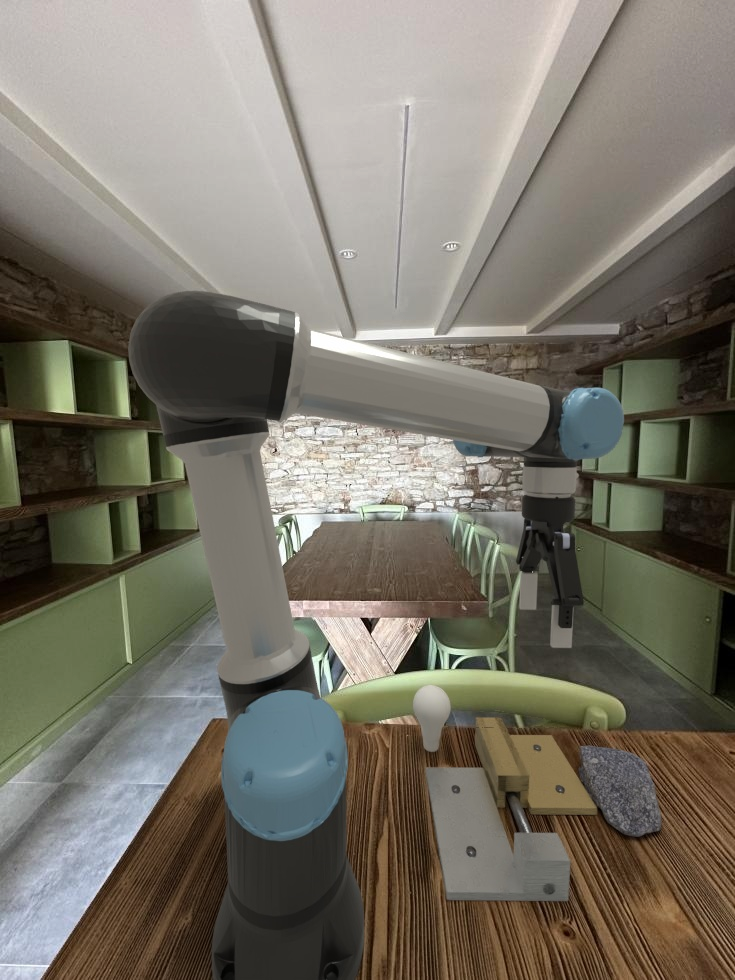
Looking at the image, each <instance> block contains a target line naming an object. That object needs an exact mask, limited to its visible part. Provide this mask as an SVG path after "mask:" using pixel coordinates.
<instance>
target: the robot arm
mask: <svg viewBox="0 0 735 980" xmlns="http://www.w3.org/2000/svg"><path fill="white" fill-rule="evenodd" d="M127 349H128V361H129V365H130V368H131V371H132V375H133V377H134V379H135V381H136V383H137V386H139V388H140V390H141V391H142V392H143V394H145V395H146V397H147V398H148V399H149V400H150V401H152V402H153V403H154V404H155V406H156V411H157V414H158V419H159V422H160V427H161V428H160V429H161V431H162V435H163V439H164V442H165V448H166V451H168V452H169V453H171V454H172V455H174V457H177V458H178V459H180V460H181V461H182V462H183V463H184V467H185V470H186V475H187V480H188V483H189V489H190V493H191V497H192V502H193V507H194V511H195V516H196V520H197V524H198V530H199V533H200V538H201V542H202V547H203V551H204V552H203V553H204V556H205V560H206V564H207V565H206V566H207V569H208V573H209V577H210V583H211V588H212V591H213V592H212V593H213V596H214V601H215V604H216V610H217V615H218V618H219V623H220V628H221V632H222V635H223V640H224V645H225V649H226V650H225V651H224V653H223V654H222V656H221V657H220V659H219V661H217V666H216V670H217V676H218V680H219V684H220V689H221V693H222V699H223V702H224V707H225V710H226V718H227V735H226V738H225V742H224V748H223V754H222V759H221V764H220V765H221V767H220V769H221V770H220V775H221V777H220V778H221V781H220V782H221V788H222V791H223V795H224V811H225V812H224V813H225V814H224V815H225V837H226V859H227V861H226V862H227V885H226V888H225V891H224V894H223V897H222V900H221V904H220V906H219V910H218V913H217V917H216V920H215V925H214V928H213V933H212V934H213V935H212V940H211V941H212V943H211V970H212V971H211V972H212V973H211V974H212V980H356V978H357V975H358V973H359V969H360V966H361V962H362V958H363V952H364V947H365V946H364V945H365V911H364V902H363V898H362V894H361V889H360V886H359V884H358V882H357V881H358V880H357V879H356V876H355V874H354V871H353V868H352V865H351V863H350V861H349V859H348V856H347V846H348V845H347V842H348V841H347V772H348V767H349V760H348V755H349V753H348V748H347V747H348V745H347V742H346V741H347V740H346V738H345V737H346V735H345V732H344V731H345V730H344V726H343V723H342V721H341V719H340V717H339V715H338V713H337V712H336V710H335V708H334V707H333V706H332V705H331V704H330V703H329V702H328V701H327V700H326V699H323V698H322V697H321V695H320V690H319V686H318V682H317V676H316V672H315V671H316V670H315V665H314V661H313V656H312V650H311V646H310V640H309V638H308V637H307V635H306V634H305V633H303V632H301V631H299V630H297V629H295V624H294V619H293V614H292V609H291V604H290V599H289V594H288V588H287V583H286V580H285V574H284V568H283V562H282V559H281V558H282V557H281V553H280V548H279V542H278V537H277V532H276V527H275V522H274V516H273V511H272V507H271V506H272V505H271V502H270V501H271V500H270V496H269V491H268V485H267V481H266V475H265V471H264V470H265V469H264V465H263V460H262V459H263V458H262V455H261V449H262V446H263V445H264V443H266V441H267V439H268V438H269V437H270V430H269V429H270V428H269V424H268V421H275V422H279V423H282V422H284V421H285V420H286V419H288V418H290V417H291V416H293V415H295V414H299V415H305V416H310V417H311V416H312V417H316V418H322V419H328V420H335V421H339V422H340V421H341V422H347V423H352V424H358V425H364V426H369V427H374V428H381V429H386V430H392V431H398V432H404V433H410V434H417V435H422V436H427V437H434V438H438V439H439V438H440V439H446V440H450V441H451V440H452V441H453V445H454V448H455V449H456V450H457V452H458V453H459V454H461V455H462V456H465V457H476V458H483V457H492V458H493V457H494V458H495V457H501V458H503V457H504V458H523V466H522V486H521V487H522V491H523V492H525V493H526V494H524V495H523V496H522V497H521V498H522V501H521V517H522V518H523V519H524V520H523V529H522V534H521V539H520V542H519V547H518V551H517V555H516V560H515V562H516V565H517V566H518V565H519V568H518V569H519V571H520V577H519V579H520V580H519V601H518V602H519V603H518V604H519V607H518V608H519V609H520V610H521V611H522V610H524V611H525V610H527V611H528V610H529V611H530V610H531V611H533V610H534V611H536V610H537V604H538V603H537V601H538V599H537V598H538V579H539V578H538V577H539V576H538V572H540V568H539V564H540V562H541V560H543V561H544V562H546V567H547V570H548V575H549V578H550V579H549V580H550V584H551V588H552V592H553V596H554V598H553V599H552V600H551V601H550V604H551V618H550V619H551V620H550V622H551V623H550V641H549V642H550V643H549V645H550V647H551V648H553V649H559V648H560V649H572V648H573V647H572V645H573V630H574V629H573V627H574V625H573V624H574V607H583V606H584V603H585V601H584V596H583V595H584V594H583V589H582V583H581V576H580V571H579V565H578V558H577V553H576V535H575V533H573V532H571V533H569V532H568V533H565V529H564V524H567V523H571V522H573V521H574V519H575V518H576V517H575V515H576V498H575V497H574V496H573V495H574V494H575V493H576V490H577V489H576V487H577V479H579V477H580V474H579V473H578V472H577V471H578V468H577V466H578V461H580V460H592V459H593V460H595V459H599V458H603V457H604V456H606V455H608V454H610V452H611V451H613V450H614V449H615V448H616V446H617V445H618V444H619V442H620V440H621V437H622V436H623V430H624V423H625V415H624V410H623V406H622V404H621V402H620V399H618V398H617V396H616V395H615V394H614V393H612V392H611V391H610V390H608V389H606V388H602V387H587V388H586V387H582V386H581V387H578V388H574V389H572V390H562V389H558V388H553V387H549V386H545V385H539V384H534V383H531V382H526V381H522V380H518V379H514V378H511V377H510V378H509V377H506V376H502V375H498V374H494V373H489V372H487V371H482V370H479V369H475V368H474V369H473V368H470V367H466V366H462V365H458V364H455V363H449V362H446V361H442V360H438V359H434V358H430V357H425V356H422V355H419V354H418V355H417V354H413V353H409V352H405V351H401V350H398V349H393V348H389V347H384V346H382V345H377V344H373V343H370V342H366V341H361V340H357V339H353V338H349V337H345V336H341V335H336V334H333V333H328V332H325V331H321V330H317V329H313V328H310V327H309V326H307V324H306V323H305V321H304V320H303V318H302V316H301V315H300V314H299V312H296V311H292V310H287V309H285V308H281V307H278V306H277V307H276V306H274V305H269V304H265V303H262V302H259V301H253V300H249V299H244V298H241V297H238V296H237V297H236V296H232V295H228V294H223V293H217V292H212V291H203V290H185V291H177V292H172V293H169V294H167V295H164V296H161V297H159V298H157V299H156V300H154V301H152V302H150V303H149V305H147V306H146V307H145V308H144V310H142V312H141V313H140V314H139V316H137V318H136V319H135V321H134V323H133V326H132V328H131V330H130V334H129V341H128V345H127Z"/></svg>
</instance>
